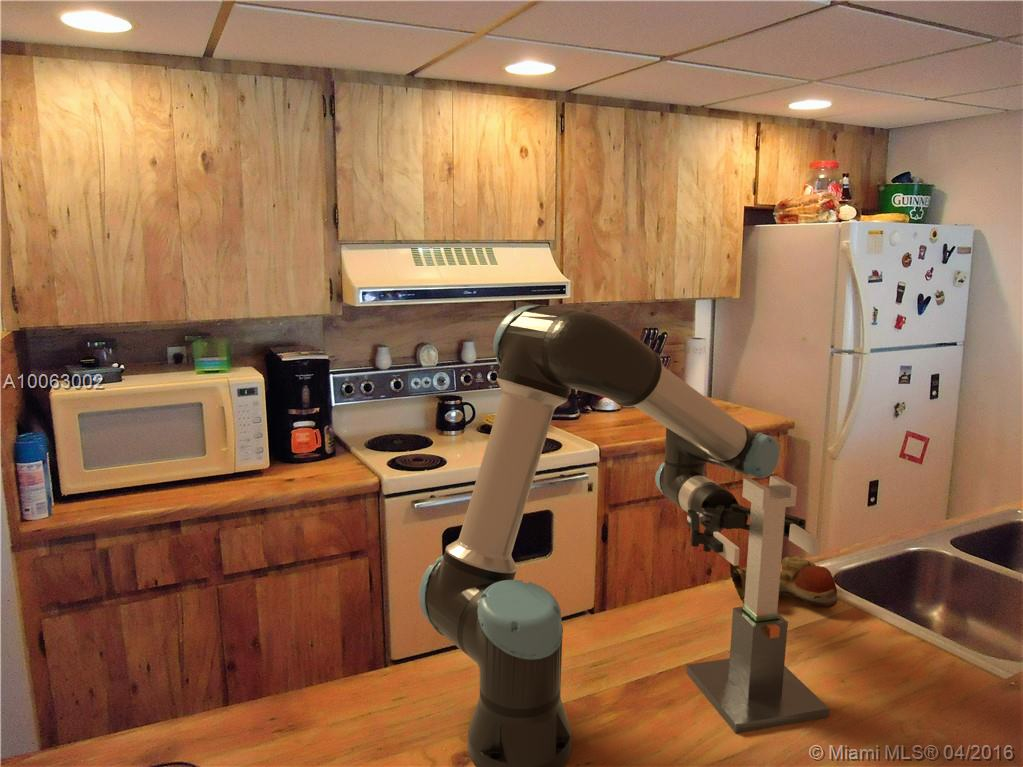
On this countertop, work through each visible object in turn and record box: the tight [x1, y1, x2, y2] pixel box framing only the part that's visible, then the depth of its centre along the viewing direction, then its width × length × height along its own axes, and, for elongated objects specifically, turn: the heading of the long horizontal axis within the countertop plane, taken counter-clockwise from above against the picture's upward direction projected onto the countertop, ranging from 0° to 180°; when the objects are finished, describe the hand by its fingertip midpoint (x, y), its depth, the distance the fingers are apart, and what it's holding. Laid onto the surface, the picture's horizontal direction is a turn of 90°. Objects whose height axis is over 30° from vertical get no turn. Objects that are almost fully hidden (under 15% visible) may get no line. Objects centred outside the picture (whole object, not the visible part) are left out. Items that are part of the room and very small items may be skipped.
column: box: [741, 475, 798, 623], centre depth 116 cm, size 6×6×28 cm
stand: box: [685, 606, 830, 734], centre depth 119 cm, size 16×16×14 cm
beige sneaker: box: [729, 555, 839, 609], centre depth 151 cm, size 15×9×20 cm
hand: (777, 552), depth 112 cm, fingers open, 13 cm apart
